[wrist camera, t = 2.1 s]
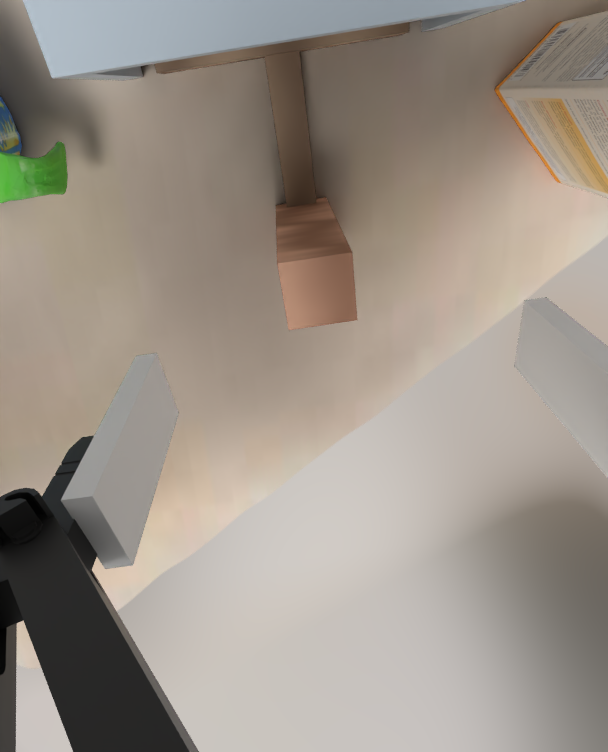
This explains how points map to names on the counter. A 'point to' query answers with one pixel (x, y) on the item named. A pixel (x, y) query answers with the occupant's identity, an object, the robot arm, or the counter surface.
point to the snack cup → (27, 165)
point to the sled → (301, 185)
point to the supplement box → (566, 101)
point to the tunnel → (210, 27)
